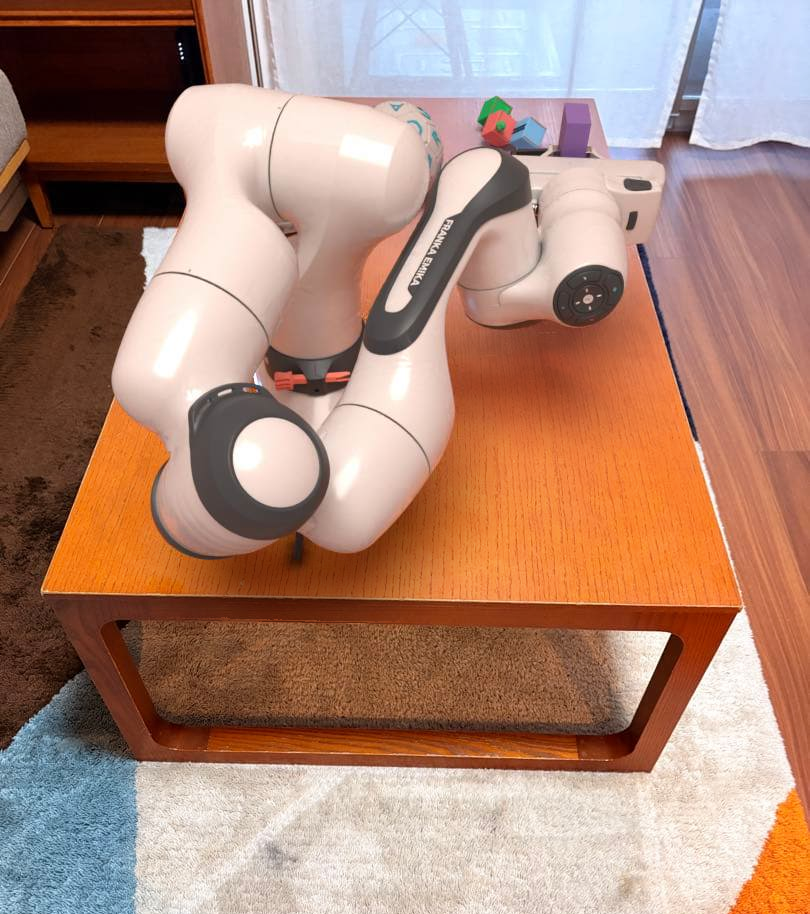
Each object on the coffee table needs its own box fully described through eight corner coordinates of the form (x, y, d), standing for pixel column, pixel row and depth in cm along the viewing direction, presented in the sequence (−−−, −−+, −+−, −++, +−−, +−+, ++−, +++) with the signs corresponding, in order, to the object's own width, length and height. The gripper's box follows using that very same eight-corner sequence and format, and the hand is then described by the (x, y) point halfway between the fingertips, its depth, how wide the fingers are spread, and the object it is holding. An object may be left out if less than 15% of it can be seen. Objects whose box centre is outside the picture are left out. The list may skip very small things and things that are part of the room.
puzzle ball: (349, 223, 131) (344, 128, 120) (352, 175, 141) (347, 83, 129) (443, 223, 132) (448, 128, 120) (439, 175, 141) (443, 83, 129)
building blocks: (501, 165, 152) (540, 149, 142) (467, 140, 148) (504, 123, 138) (516, 125, 152) (556, 107, 142) (483, 100, 148) (521, 79, 138)
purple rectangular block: (575, 213, 101) (591, 123, 93) (552, 212, 102) (566, 122, 93) (572, 192, 105) (588, 103, 96) (550, 191, 105) (564, 102, 96)
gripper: (481, 234, 93) (482, 173, 102) (662, 242, 92) (648, 180, 101) (485, 181, 88) (486, 121, 97) (677, 189, 87) (661, 128, 96)
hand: (570, 151), depth 99 cm, fingers closed on purple rectangular block, 3 cm apart
